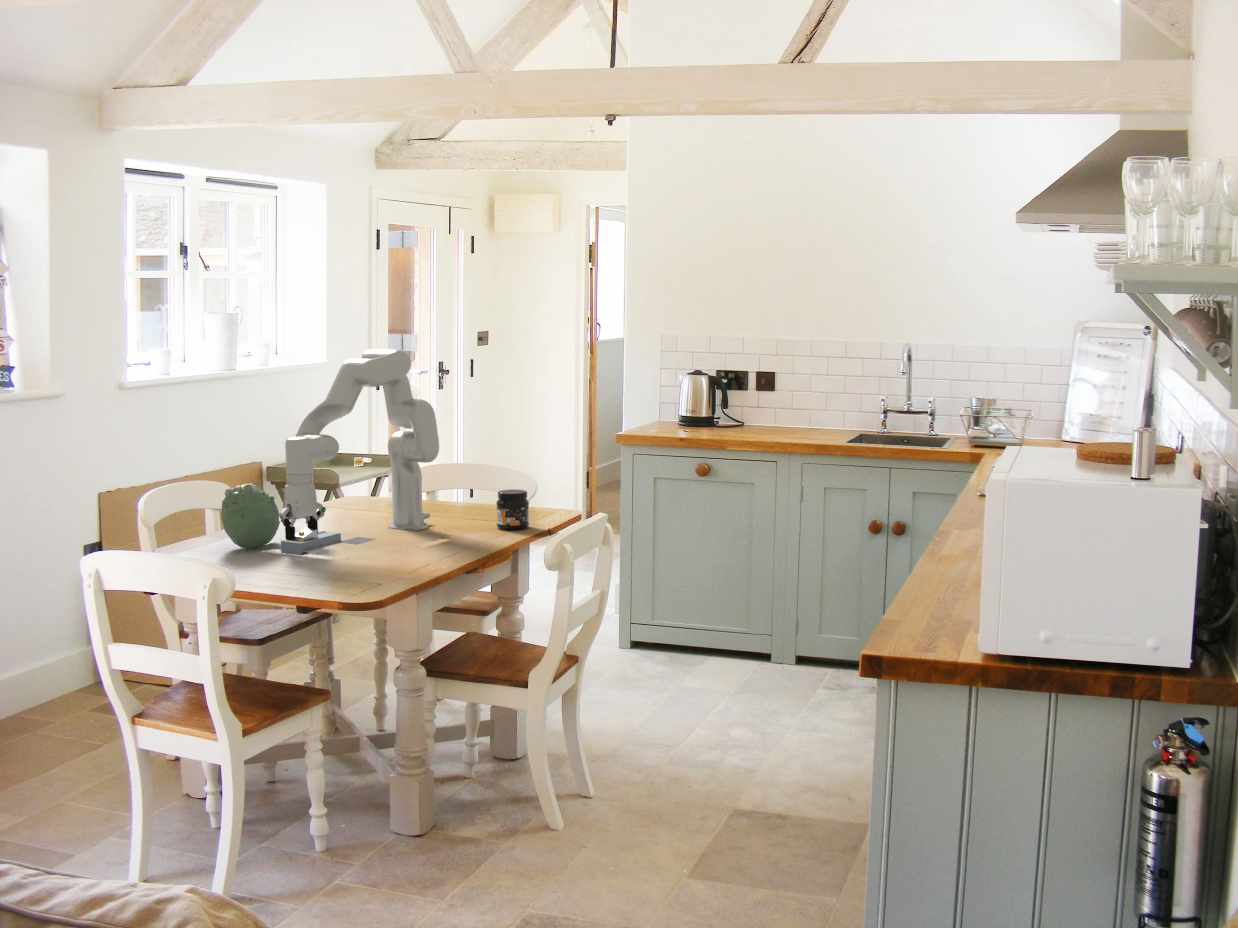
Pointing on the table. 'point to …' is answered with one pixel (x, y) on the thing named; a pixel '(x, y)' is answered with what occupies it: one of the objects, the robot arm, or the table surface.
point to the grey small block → (306, 535)
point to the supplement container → (512, 510)
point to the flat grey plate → (357, 540)
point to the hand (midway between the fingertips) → (301, 536)
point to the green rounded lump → (249, 516)
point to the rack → (309, 543)
